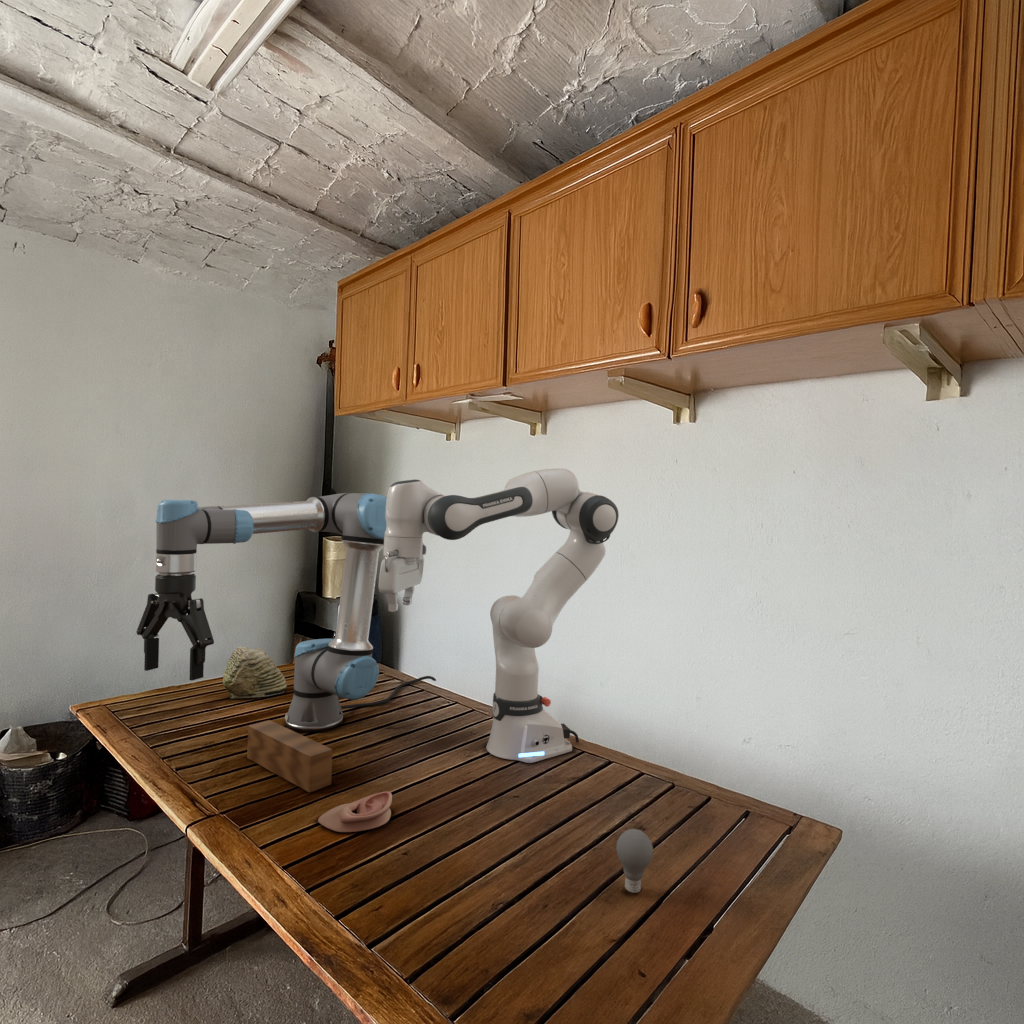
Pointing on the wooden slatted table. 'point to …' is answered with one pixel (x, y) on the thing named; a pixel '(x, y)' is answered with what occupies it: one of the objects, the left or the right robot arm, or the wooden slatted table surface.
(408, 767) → the wooden slatted table surface
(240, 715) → the wooden slatted table surface
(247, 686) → the fossil
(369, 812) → the anatomical model
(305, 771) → the bar
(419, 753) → the wooden slatted table surface
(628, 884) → the light bulb
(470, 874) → the wooden slatted table surface
